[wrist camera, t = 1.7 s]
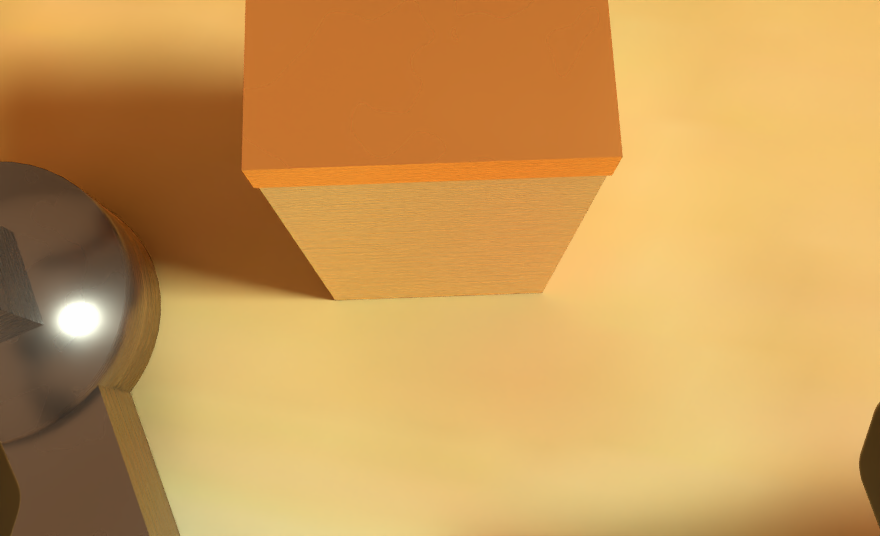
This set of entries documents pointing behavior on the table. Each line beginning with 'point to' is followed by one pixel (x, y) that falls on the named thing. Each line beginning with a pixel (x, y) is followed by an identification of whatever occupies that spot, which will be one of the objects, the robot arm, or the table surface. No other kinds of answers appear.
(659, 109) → the table surface
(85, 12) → the table surface
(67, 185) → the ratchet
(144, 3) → the table surface
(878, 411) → the robot arm
